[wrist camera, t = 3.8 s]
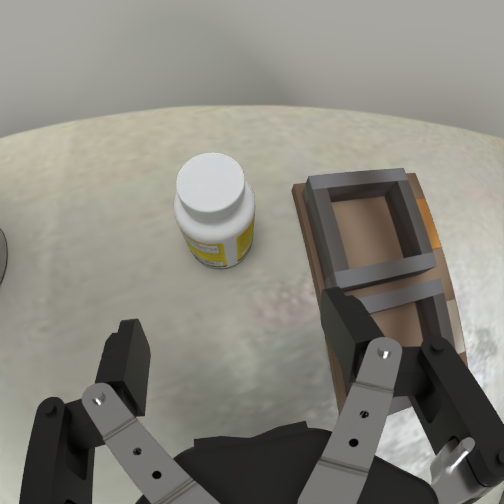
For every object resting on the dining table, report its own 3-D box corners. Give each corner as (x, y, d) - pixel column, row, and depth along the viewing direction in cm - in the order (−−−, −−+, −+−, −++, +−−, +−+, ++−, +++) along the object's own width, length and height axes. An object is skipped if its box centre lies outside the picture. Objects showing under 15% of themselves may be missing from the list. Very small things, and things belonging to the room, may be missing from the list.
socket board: (341, 426, 23) (358, 438, 19) (291, 190, 29) (299, 166, 25) (462, 379, 24) (489, 380, 20) (410, 178, 30) (428, 157, 26)
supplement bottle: (239, 201, 28) (239, 132, 19) (261, 257, 27) (273, 206, 18) (180, 221, 28) (155, 159, 18) (199, 279, 26) (178, 238, 17)
